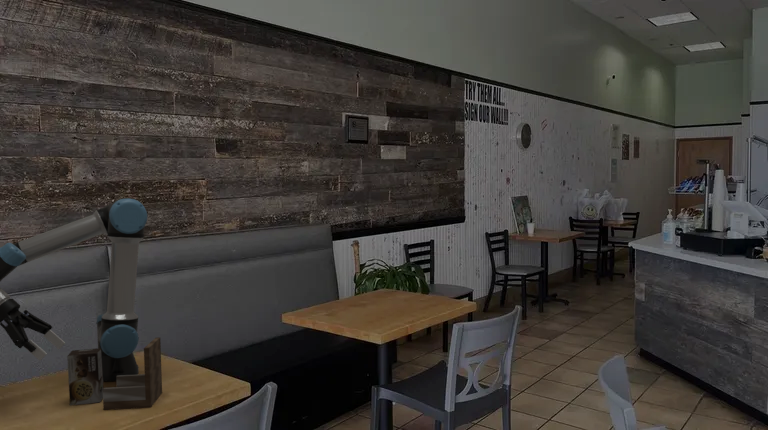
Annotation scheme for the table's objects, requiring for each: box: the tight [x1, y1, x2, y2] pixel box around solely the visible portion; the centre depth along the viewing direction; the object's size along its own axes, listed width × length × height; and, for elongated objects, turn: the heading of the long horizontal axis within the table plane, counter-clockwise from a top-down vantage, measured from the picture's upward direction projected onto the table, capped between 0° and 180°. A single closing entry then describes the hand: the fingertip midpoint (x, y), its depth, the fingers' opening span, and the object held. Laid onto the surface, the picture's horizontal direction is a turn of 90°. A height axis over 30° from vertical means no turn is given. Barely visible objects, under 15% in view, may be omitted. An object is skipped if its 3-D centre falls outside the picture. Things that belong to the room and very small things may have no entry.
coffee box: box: [66, 347, 104, 406], centre depth 195 cm, size 9×6×16 cm
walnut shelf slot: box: [102, 337, 163, 411], centre depth 194 cm, size 14×14×18 cm
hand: (53, 351), depth 193 cm, fingers open, 13 cm apart
